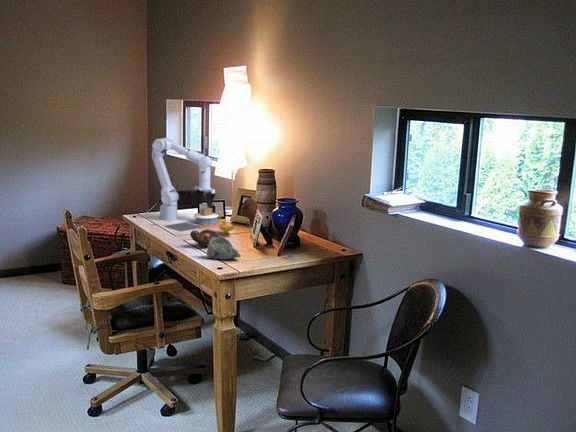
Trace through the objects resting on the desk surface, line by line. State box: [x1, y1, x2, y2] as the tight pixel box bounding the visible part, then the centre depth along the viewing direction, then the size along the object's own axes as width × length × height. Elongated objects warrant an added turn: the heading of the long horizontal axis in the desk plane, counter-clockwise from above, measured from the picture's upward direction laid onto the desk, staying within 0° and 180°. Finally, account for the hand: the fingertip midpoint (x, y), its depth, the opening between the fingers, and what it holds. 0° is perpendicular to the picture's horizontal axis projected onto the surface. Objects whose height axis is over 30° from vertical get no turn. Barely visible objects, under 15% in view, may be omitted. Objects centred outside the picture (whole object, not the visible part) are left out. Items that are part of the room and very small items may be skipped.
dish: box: [195, 216, 219, 226], centre depth 307 cm, size 11×11×4 cm
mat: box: [163, 221, 204, 232], centre depth 296 cm, size 15×14×1 cm
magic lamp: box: [218, 210, 239, 237], centre depth 282 cm, size 7×18×11 cm, turn 36°
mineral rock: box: [206, 235, 242, 260], centre depth 241 cm, size 13×11×10 cm
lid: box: [193, 207, 220, 219], centre depth 305 cm, size 13×13×4 cm
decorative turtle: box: [189, 229, 220, 249], centre depth 260 cm, size 10×15×8 cm, turn 111°
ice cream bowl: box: [240, 197, 257, 228], centre depth 302 cm, size 11×11×15 cm
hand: (204, 205), depth 305 cm, fingers open, 7 cm apart
